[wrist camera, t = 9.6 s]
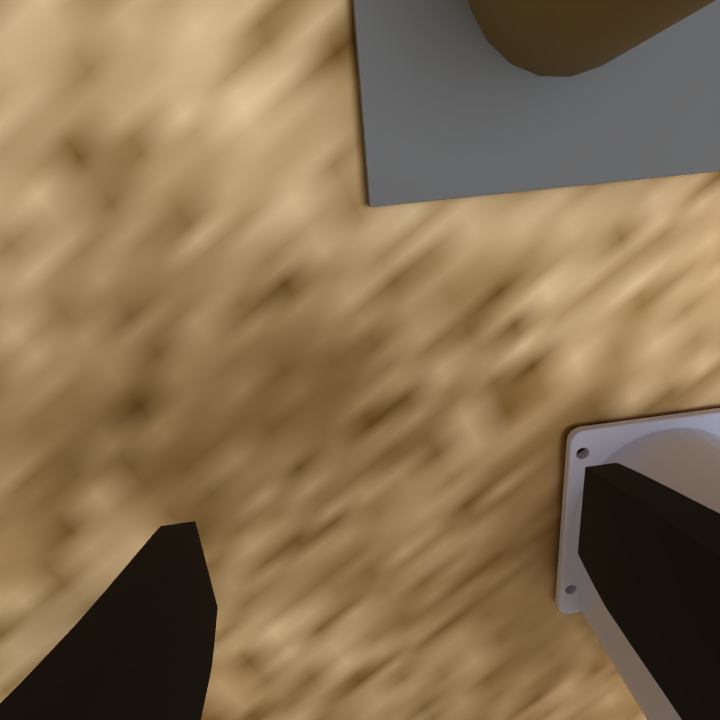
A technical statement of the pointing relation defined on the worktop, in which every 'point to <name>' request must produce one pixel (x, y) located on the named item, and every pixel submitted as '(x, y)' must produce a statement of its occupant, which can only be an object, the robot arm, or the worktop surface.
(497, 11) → the olive brown rounded piece
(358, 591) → the worktop surface
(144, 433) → the worktop surface
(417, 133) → the rubber mat
